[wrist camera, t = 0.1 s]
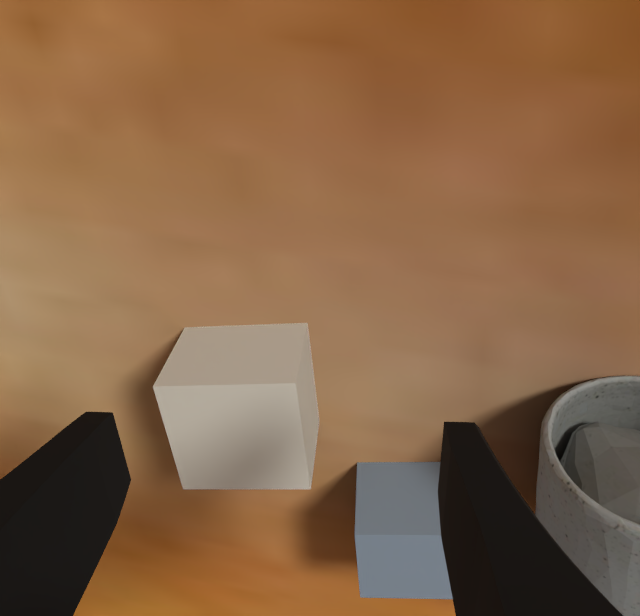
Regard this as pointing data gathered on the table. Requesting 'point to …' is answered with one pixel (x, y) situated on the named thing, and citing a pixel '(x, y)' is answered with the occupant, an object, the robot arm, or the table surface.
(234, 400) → the cream block
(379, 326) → the table surface
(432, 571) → the blue cube
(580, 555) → the ceramic mug
